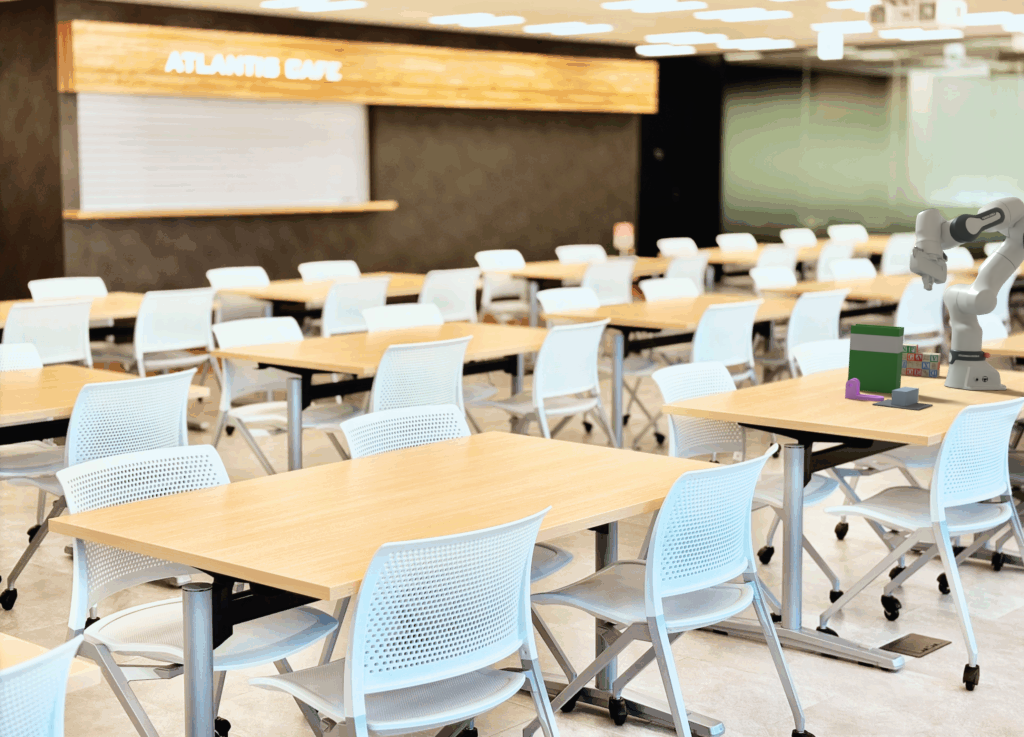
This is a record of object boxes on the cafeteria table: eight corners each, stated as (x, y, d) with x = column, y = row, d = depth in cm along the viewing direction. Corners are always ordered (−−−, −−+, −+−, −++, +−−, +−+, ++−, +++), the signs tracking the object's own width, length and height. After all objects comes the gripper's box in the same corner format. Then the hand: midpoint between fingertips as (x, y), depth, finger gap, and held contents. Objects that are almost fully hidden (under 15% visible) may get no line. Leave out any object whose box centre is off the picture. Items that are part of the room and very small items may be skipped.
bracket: (844, 398, 471) (846, 379, 470) (848, 396, 476) (849, 377, 475) (881, 402, 465) (883, 382, 464) (885, 400, 470) (886, 380, 469)
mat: (888, 400, 468) (888, 399, 468) (932, 405, 458) (932, 404, 458) (872, 404, 457) (872, 403, 457) (917, 410, 447) (917, 409, 447)
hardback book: (847, 389, 492) (851, 325, 489) (852, 387, 498) (856, 323, 495) (895, 394, 483) (899, 328, 480) (900, 391, 490) (904, 327, 486)
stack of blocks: (939, 376, 535) (941, 345, 534) (936, 377, 530) (938, 347, 528) (886, 371, 545) (887, 342, 543) (882, 373, 539) (884, 343, 538)
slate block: (905, 386, 465) (892, 390, 455) (919, 388, 462) (906, 391, 452) (904, 400, 465) (891, 404, 456) (918, 402, 462) (905, 406, 453)
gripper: (921, 243, 463) (921, 281, 460) (950, 258, 477) (950, 295, 474) (905, 246, 468) (904, 283, 465) (934, 261, 481) (933, 297, 478)
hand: (927, 289), depth 469 cm, fingers closed
